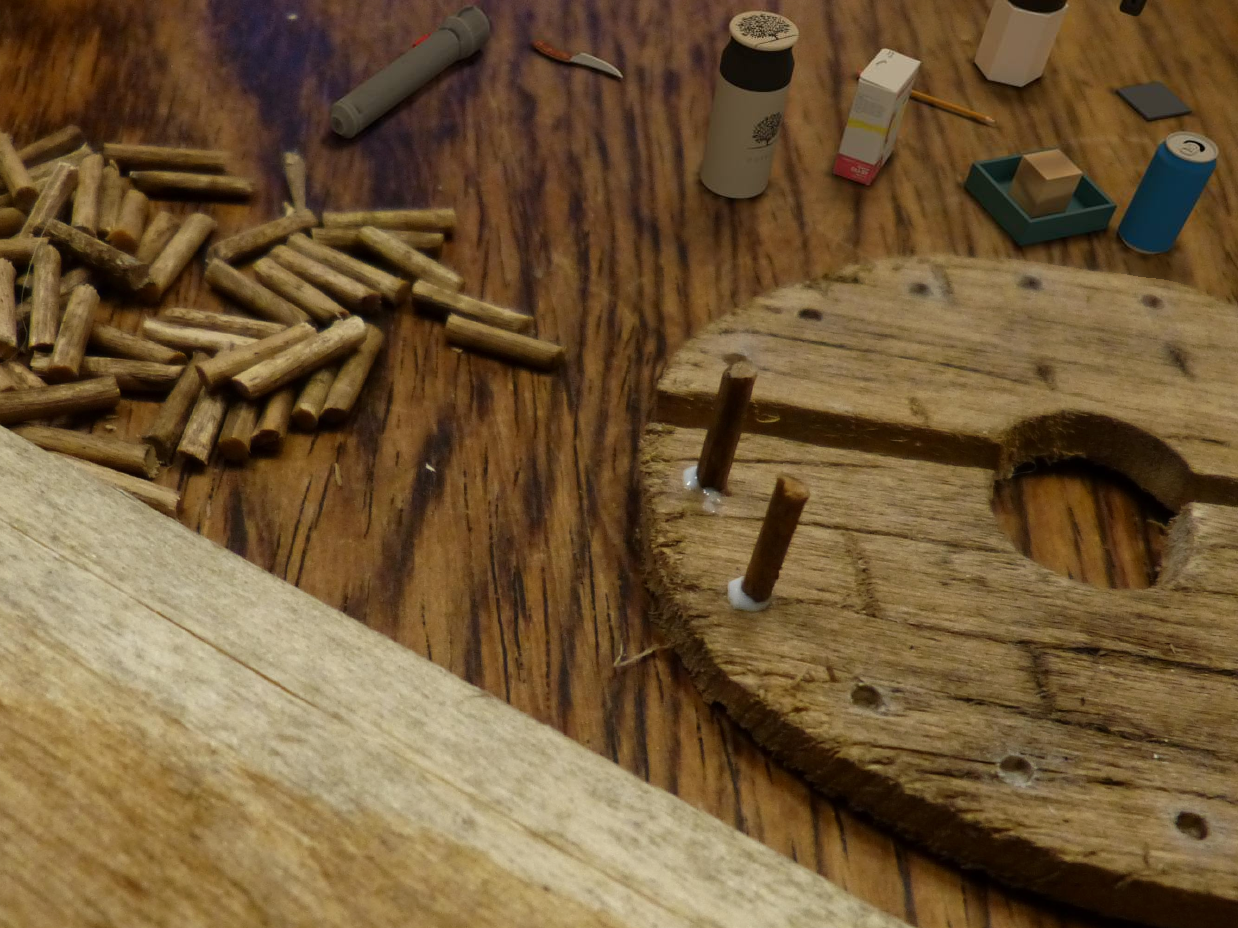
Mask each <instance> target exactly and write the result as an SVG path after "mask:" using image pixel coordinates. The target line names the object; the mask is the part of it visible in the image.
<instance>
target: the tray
mask: <svg viewBox="0 0 1238 928" xmlns="http://www.w3.org/2000/svg"><path fill="white" fill-rule="evenodd" d="M1055 149H1059V150H1060V151H1061V152H1062V153H1063V154H1064V155H1065V156H1066V157H1067V158H1068V159H1069V160H1070V161H1071V162H1072V163H1073V164H1074V165H1075V166H1076V167H1077V168H1078V169H1079V170H1080V171H1081V172H1082V173H1083V174H1082V176H1081V178H1080V181H1079V183H1078V185H1077V187H1076V189H1075V192H1074V194H1073V196H1072V198H1071V200H1070V203H1069V205H1068V207H1067V209H1066V211H1064V212H1059V213H1054V214H1049V215H1044V216H1039V217H1034V218H1030V217H1029V216H1028V215H1027V214H1026V213H1025V212H1024V211H1023V210H1022V209H1021V208H1020V206H1019V205H1018V204H1017V203H1016V202H1015V201H1014V200H1013V199H1012V198H1011V197H1010V196H1009V195H1008V194H1007V193H1008V191H1009V188H1010V186H1011V183H1012V181H1013V179H1014V176H1015V174H1016V171H1017V169H1018V166H1019V164H1020V161H1021V159H1022V156H1023V155H1028V154H1033V153H1039V152H1044V151H1050V150H1055ZM963 186H964V188H966V189H967V191H968V192H969V193H970V194H971V195H972V196H973V197H974V198H975V199H976V200H977V201H978V202H979V204H980V205H981V206H982V207H983V208H984V209H985V210H986V211H987V212H988V213H989V215H990V216H991V217H992V218H993V219H994V220H995V221H996V222H997V223H998V224H999V225H1000V227H1002V228H1003V230H1004V231H1005V232H1006V233H1007V234H1008V235H1009V236H1010V237H1011V239H1013V241H1014V242H1015V243H1017V245H1018V246H1019V247H1021V246H1022V247H1023V246H1027V245H1033V244H1037V243H1042V242H1047V241H1051V240H1052V241H1053V240H1056V239H1062V238H1066V237H1072V236H1076V235H1081V234H1086V233H1090V232H1097V231H1100V230H1101V231H1102V230H1106V229H1107V228H1108V226H1109V224H1110V222H1111V220H1112V218H1113V216H1114V214H1115V212H1116V210H1117V208H1118V204H1117V203H1116V202H1115V201H1114V200H1113V199H1111V197H1110V196H1109V195H1108V194H1106V192H1105V191H1103V189H1101V187H1099V185H1098V184H1096V182H1095V181H1093V179H1091V178H1090V176H1088V175H1087V174H1086V173H1085V172H1084V171H1083V170H1082V169H1081V168H1080V167H1079V166H1078V164H1076V163H1075V162H1074V161H1073V160H1072V158H1070V157H1069V155H1067V154H1066V153H1065V152H1064V151H1063V150H1062V149H1061V148H1060V147H1059V146H1055V147H1049V148H1043V149H1039V150H1033V151H1028V152H1022V153H1017V154H1012V155H1006V156H1001V157H995V158H989V159H983V160H977V161H973V162H972V163H971V166H970V170H969V171H968V174H967V176H966V180H965V182H964V184H963Z"/></svg>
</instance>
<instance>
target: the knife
mask: <svg viewBox="0 0 1238 928" xmlns="http://www.w3.org/2000/svg"><path fill="white" fill-rule="evenodd" d="M532 46H533V48H535V50H537V51H538V52H539V53H542V54H543V55H544V56H547V57H550V58H551V59H555V60H557V61H560V62H564V63H567V64H568V63H569V64H570V63H573V64H574V63H575V64H578V65H583V66H586V67H589V68H594V69H596V70H599V71H603V72H605V73H608V74H611V75H613V76H615V77H618V78H621V79H624V78H623V75H622V74H621V72H620V71H619V69H617V68H616V67H615V66H613V65H612V64H610V63H609V62H606V61H604V60H602V59H600V58H598V57H596V56H593V55H591V54H588V53H585V52H580V53H579V54H576V55H573V54H572V53H568V52H565V51H562V50H559V49H557V48H554V47H553V46H551V45H550V44H549V43H547V42H546V41H545V40H543V39H538V40H534V41H532Z"/></svg>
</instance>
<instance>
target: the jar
mask: <svg viewBox="0 0 1238 928" xmlns="http://www.w3.org/2000/svg"><path fill="white" fill-rule="evenodd" d="M1068 9H1069V4H1068V0H994V1H993V5H992V8H991V11H990V13H989V17H988V18H987V22H986V25H985V28H984V29H983V33H982V37H981V40H980V42H979V45H978V48H977V51H976V53H975V57H974V58H973V59H974V60H973V62H974V63H975V65H976V66H977V68H978V69H979V70H980V72H981V73H982V74H983V76H984V77H985V78H986V80H988V81H992V82H996V83H1000V84H1005V85H1010V86H1014V87H1018V88H1022V87H1024V86H1026V85H1028V84H1029V83H1031V82H1033V81H1035V80H1036V79H1038V78H1041V77H1042V75H1043V72H1044V69H1045V67H1046V66H1047V65H1046V64H1047V62H1048V60H1049V57H1050V55H1051V52H1052V49H1053V48H1054V45H1055V43H1056V40H1057V37H1058V35H1059V32H1060V30H1061V26H1062V25H1063V22H1064V19H1065V17H1066V14H1067V11H1068Z"/></svg>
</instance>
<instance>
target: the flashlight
mask: <svg viewBox="0 0 1238 928" xmlns="http://www.w3.org/2000/svg"><path fill="white" fill-rule="evenodd" d="M490 37H491V25H490V23H489V20H488V18H487V16H486V14H485V13H484V12H483V11H482V10H481V9H480V8H478V7H476V6H474V5H465V6H462V7H461V8H460V9H457V10H456V11H455V12H454V13H453V14H451V15H450V16H448V17H447V18H445V19H444V21H443V22H442V24H441V25H440V26H439V28H438V29H437V30H436V31H435V32H433V33H432V34H430V33H427V34H425V35H423V36H422V37H420V38H419V39H418V40H416V41H415V42H413V44H412V48H411V49H409V50H408V51H407V52H405V53H403V54H402V55H401V56H399V57H398V58H396V59H395V60H394V61H393V62H391V63H389V64H388V65H387V66H385V67H384V68H383V69H381V70H380V71H379V72H378V71H377V73H376V74H374V75H372V76H371V77H370V78H368V79H367V80H366V81H364V82H363V83H361V84H360V85H358V86H357V87H356V88H354V89H353V90H352V91H350V92H349V93H347V94H346V95H344V96H343V97H341V98H340V99H339V100H337V101H336V102H335V103H333V104H332V105H331V106H330V107H329V109H328V119H329V124H330V126H331V128H332V130H333V131H334V132H335V133H336V134H338V135H339V136H341V137H342V138H344V139H352V138H353V137H354V136H356V135H358V134H359V133H361V131H363V130H365V129H366V128H367V127H368V126H370V125H371V124H373V122H375V121H376V120H378V119H379V118H380V117H382V116H383V115H385V114H386V113H387V112H389V111H390V110H392V109H393V108H394V107H395V106H397V105H398V104H399V103H400V102H402V101H404V100H405V99H406V98H408V97H409V96H410V95H412V94H413V93H414V92H415V91H417V90H418V89H419V88H421V87H423V86H424V85H426V84H427V83H428V82H429V81H431V80H432V79H433V78H435V77H436V76H437V75H439V74H440V73H441V72H443V71H444V70H446V69H447V68H448V67H449V66H451V65H452V64H454V63H455V62H456V61H457V62H458V61H461V60H465V59H467V58H469V57H470V56H472V55H473V54H474V53H476V52H477V51H478V50H480V49H481V48H483V46H485V45H486V44H487V43H488V42H489V39H490Z"/></svg>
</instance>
